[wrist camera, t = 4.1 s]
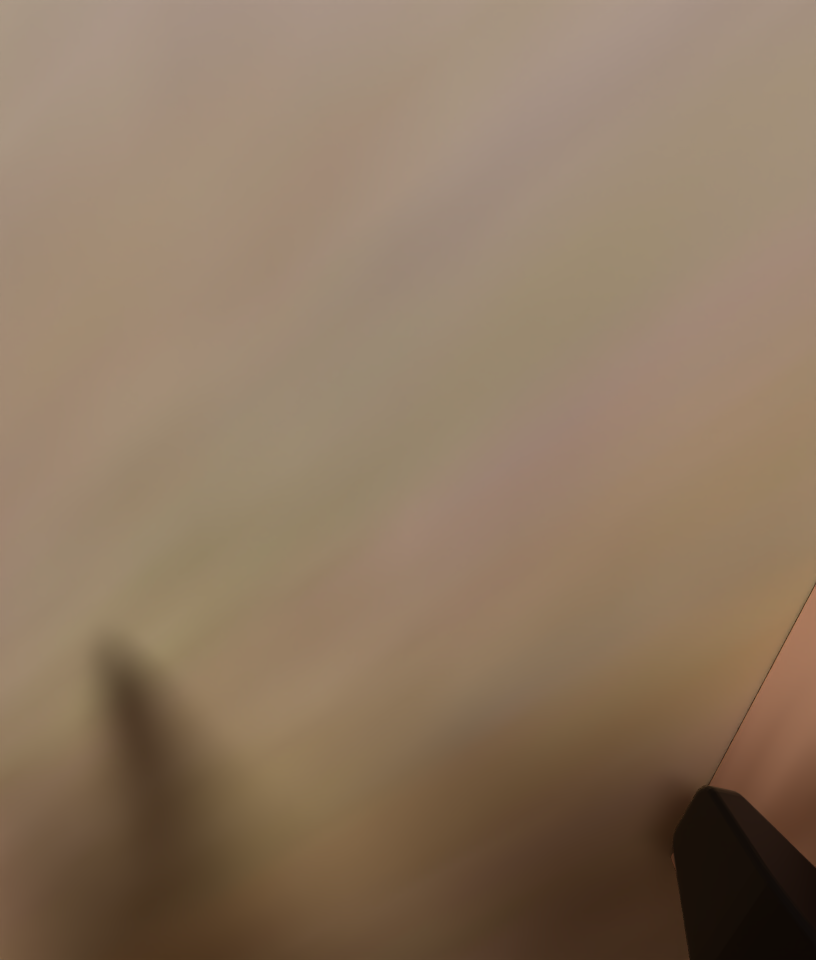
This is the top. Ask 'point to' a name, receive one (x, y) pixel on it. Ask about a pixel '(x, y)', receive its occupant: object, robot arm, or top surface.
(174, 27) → the top surface
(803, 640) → the terracotta block
